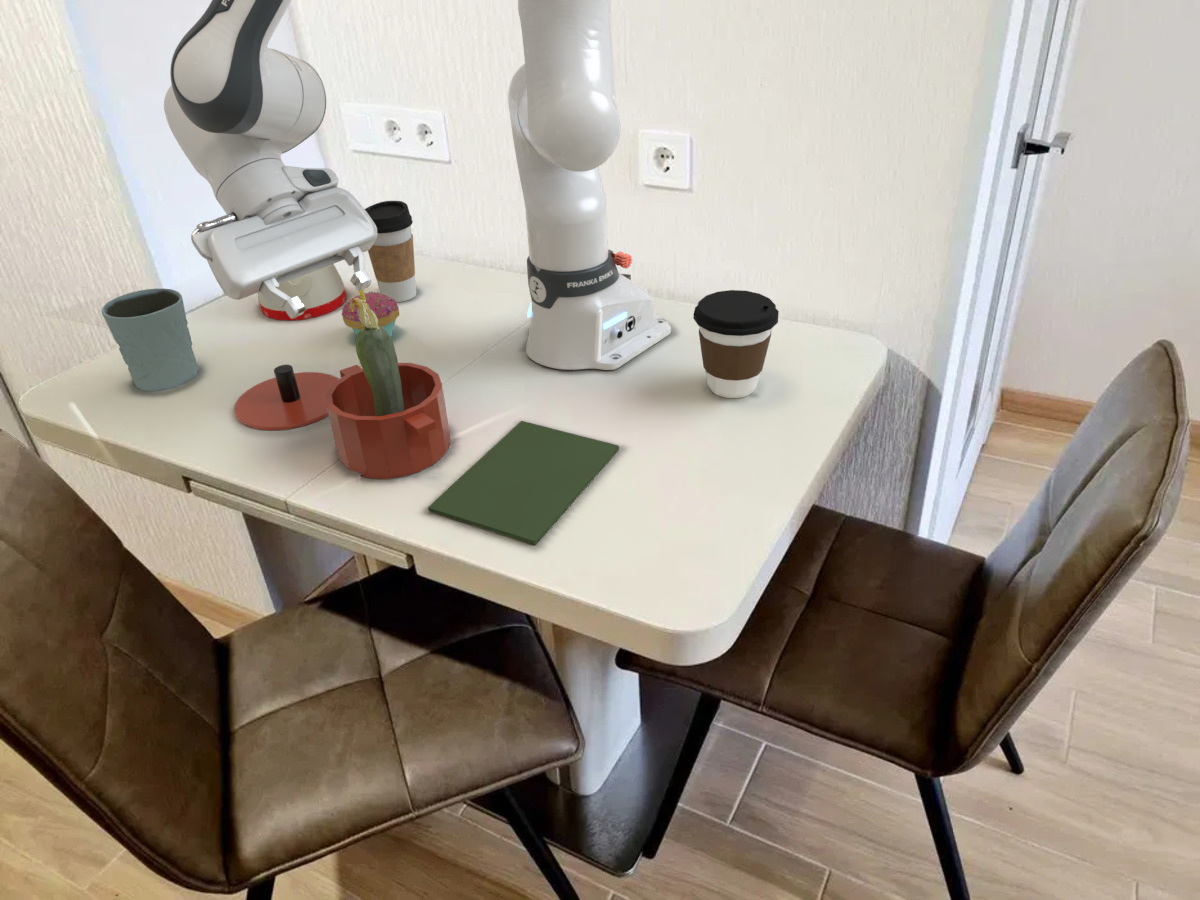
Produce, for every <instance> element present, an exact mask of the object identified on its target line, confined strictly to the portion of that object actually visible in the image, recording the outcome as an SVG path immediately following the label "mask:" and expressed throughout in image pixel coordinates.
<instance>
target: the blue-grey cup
mask: <svg viewBox="0 0 1200 900" xmlns="http://www.w3.org/2000/svg"><path fill="white" fill-rule="evenodd" d="M100 312H101V315H102V317H103V319H104V320H105V323H106V325H107V326H108V329H109V331H110V333H111V335H112V337H113V339H114V341H115V343H116V344H117V346H118V350H119V353H120V355H121V357H122V360H123V362H124V364H125V365H126V366H127V367H128V368H127V369H128V372H129V374H130V376H131V379H132V382H133V385H134V386H135V388H137V389H139V390H141V391H144V392H145V391H146V392H161V391H167V390H172V389H175V388H178V387H180V386H182V385H185V384H187V383H189V382H190V381H192V380H194V378H195V377H196V376H197V375H198V374H199V366H198V364H197V359H196V356H195V353H194V350H193V341H192V336H191V334H190V329H189V327H188V324H189V323H188V320H187V315H186V309H185V303H184V299H183V295H182V294H181V292H179V291H177V290H175V289H171V288H147V289H141V290H136V291H132V292H127V293H124V294H122V295H119V296H117V297H115V298H112V299H111V300H109V301H107V302H106V303H105V304H104V305H103V306H102V308H101V310H100Z"/></svg>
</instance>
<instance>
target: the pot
mask: <svg viewBox="0 0 1200 900" xmlns="http://www.w3.org/2000/svg"><path fill="white" fill-rule="evenodd" d="M398 369H399V374H400V379H401V387H402V396H403V403H404V411H402V412H399V413H394V414H389V415H383V416H376V415H375V405H374V396H373V392H372V388H371V386H370V384H369V382H368V381H367V378H366V376H365V374H364V371H363V368H362V366H359V364H354V365H352V366H348V367H346V368H342V369H340V370H339V374H340V378H338V379H339V380H337V381H336V382H334V383H333V384H332V385H331V387H330V388H329V390H328V391H327V393H326V394H325V399H326V406H327V410H328V415H329V416H328V418H329V422H330V427H331V431H332V435H333V438H334V443H335V447H336V450H337V455H338V460H339V462H341V463H342V464H343V465H344V466H345V467H346V468H347V469H348V470H349V471H353V472H356V473H359V474H361V475H359V476H360V477H362V478H366V479H375V480H389V479H399V478H403V477H407V476H411V475H414V474H418V473H419V472H422V471H425V470H426V469H428V468H430V467H432V466H433V465H435V464H436V463H437V462H439V461H440V460H441V459H442V458H443V457H444V456H445V455H446V454H447V452H448V450H449V448H450V444H451V438H452V437H451V432H450V425H449V420H448V413H447V407H446V401H445V400H446V399H445V395H444V389H443V384H442V381H441V378H440V375H439V373H438V372H436V371H434V370H432V369H431V368H430V367H428V366H426V365H422V364H417V363H412V362H398Z"/></svg>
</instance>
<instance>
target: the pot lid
mask: <svg viewBox="0 0 1200 900" xmlns="http://www.w3.org/2000/svg"><path fill="white" fill-rule="evenodd" d="M273 374H274V377H271V378H269V379H266V380H264V381H262V382H260V383H258V384H256V385H255V384H254V386H252V387H250V388H249V389H247V390H245V392H244V393H242V395H241V396H240V397H238V399H237V400H236V402H235V405H234V415H235V416H236V417H235V418H236V419H237V420H238V421H239V423H241V424H243V425H245V426H246V427H249V428H252V429H257V430H261V431H263V430H264V431H283V430H291V429H296V428H300V427H304V426H308V425H311V424H313V423H317V422H319V421H321V420H323V419H326V418H327V417H329V415H328V410H327V406H326V399H325V394H326V393H327V391H328V390H329V388H330V387H331V385H332V384H333V383H334V382H336V381H337V380H339V379H340V378H339V377H337V376H334V375H332V374H328V373H323V372H316V371H302V372H295V371H294V368H293V365H290V364H281V365H278V366H276V367H275V368H274V369H273Z"/></svg>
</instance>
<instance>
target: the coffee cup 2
mask: <svg viewBox="0 0 1200 900" xmlns="http://www.w3.org/2000/svg"><path fill="white" fill-rule="evenodd" d="M779 312H780V311H779V310H778V309H777V307H776V304H775V303H774V302H773V300H772V299H771V298H770V297H767V296H766V295H763V294H761V293H758V292H753V291H749V290H739V289H737V290H736V289H735V290H734V289H730V290H720V291H715V292H713V293H710V294H707V295H705V296H704V297H702V298H701V299H700V300H698V302H697V305H696V306H695V307H694V311H693V317H692V318H693V320H694V322H695V323H696V324H697V326H698V327H699V328H698V336H699V344H700V351H701V360H702V366H703V369H704V372H705V378H706V384H707V385H708V387H709V389H710V391H711V392H712V393H713V394H715V395H716V396H718V397H721V398H726V399H739V398H745V397H747V396H749V395H751V394H752V393H753V392H754V391H755V389H756V388H757V386H758V383H759V379H760V375H761V373H762V371H763V369H764V366H765V365H764V364H765V361H766V357H767V353H768V349H769V347H770V346H769V345H770V342H771V338H772V329H773V328H774V327H775V326H776V325H777V324H778V323H779Z"/></svg>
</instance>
